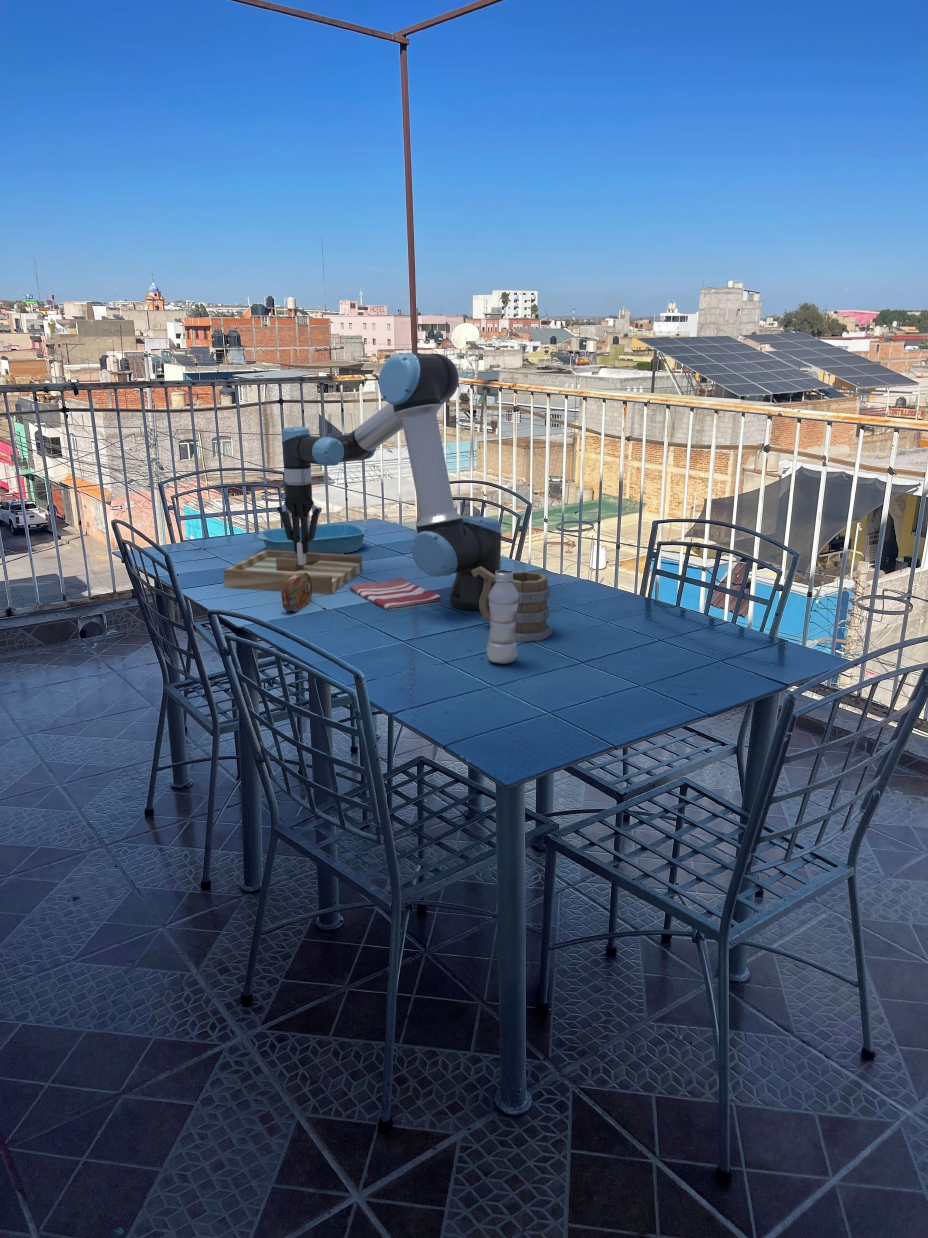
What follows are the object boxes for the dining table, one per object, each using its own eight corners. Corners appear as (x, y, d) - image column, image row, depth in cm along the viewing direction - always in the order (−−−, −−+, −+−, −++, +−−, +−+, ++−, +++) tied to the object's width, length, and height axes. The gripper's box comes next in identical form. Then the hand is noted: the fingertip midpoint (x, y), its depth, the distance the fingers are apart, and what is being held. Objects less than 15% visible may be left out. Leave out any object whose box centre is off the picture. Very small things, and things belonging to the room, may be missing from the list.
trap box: (330, 594, 233) (329, 576, 232) (224, 587, 240) (223, 570, 238) (362, 571, 259) (361, 555, 257) (265, 565, 265) (264, 549, 263)
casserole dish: (265, 563, 269) (264, 541, 266) (252, 549, 288) (250, 528, 286) (376, 553, 283) (376, 532, 281) (356, 541, 303) (356, 521, 300)
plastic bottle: (498, 654, 187) (500, 566, 181) (523, 661, 183) (526, 571, 177) (480, 662, 182) (481, 571, 177) (505, 669, 178) (507, 577, 172)
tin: (291, 615, 214) (290, 583, 212) (280, 615, 215) (278, 582, 212) (313, 600, 228) (312, 569, 226) (302, 599, 229) (301, 568, 226)
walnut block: (295, 571, 245) (295, 559, 244) (276, 570, 246) (275, 558, 245) (304, 567, 251) (303, 555, 250) (285, 565, 252) (284, 554, 251)
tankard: (558, 630, 204) (560, 570, 200) (534, 645, 194) (537, 581, 189) (485, 617, 214) (486, 559, 209) (459, 631, 203) (460, 570, 199)
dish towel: (402, 584, 246) (402, 575, 245) (443, 604, 227) (444, 594, 226) (349, 592, 238) (349, 583, 237) (387, 613, 219) (387, 603, 218)
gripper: (324, 481, 243) (327, 562, 250) (282, 480, 245) (286, 559, 252) (314, 485, 236) (318, 568, 243) (271, 483, 238) (275, 565, 245)
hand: (302, 563), depth 247 cm, fingers closed
